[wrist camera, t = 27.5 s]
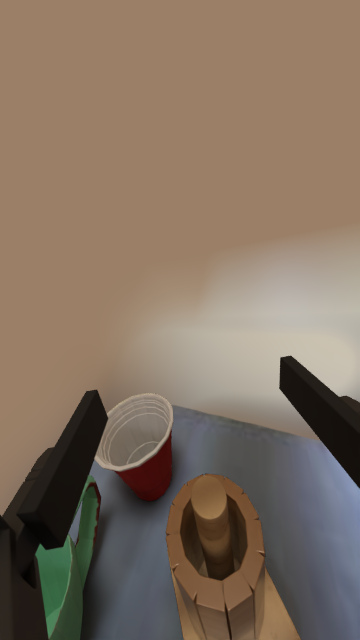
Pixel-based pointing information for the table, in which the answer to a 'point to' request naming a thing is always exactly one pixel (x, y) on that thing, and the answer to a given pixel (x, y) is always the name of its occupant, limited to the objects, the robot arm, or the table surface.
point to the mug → (69, 570)
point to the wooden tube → (234, 591)
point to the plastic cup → (139, 444)
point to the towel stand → (227, 561)
